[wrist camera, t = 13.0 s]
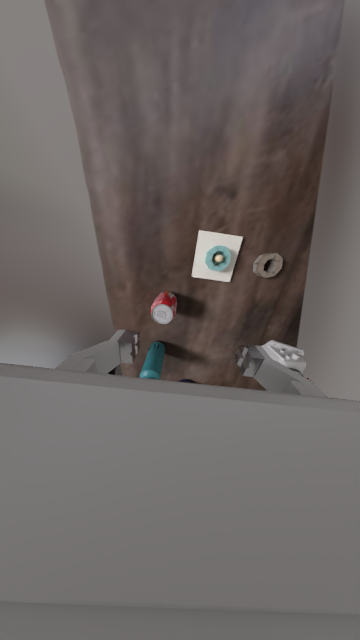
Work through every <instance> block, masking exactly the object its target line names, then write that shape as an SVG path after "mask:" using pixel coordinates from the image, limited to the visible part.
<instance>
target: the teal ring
mask: <svg viewBox="0 0 360 640" xmlns="http://www.w3.org/2000/svg"><path fill="white" fill-rule="evenodd" d="M216 252H220V253H221V255H222V256H223V260H222V261H221V263H220V264H218V265H217V266H215V265H214V264H213V263H212V257H213V254H214V253H216ZM230 255H231V254H230V252H229V250H228V248H227V247H226V246H219V245H217V246H214V247H213V248H211V249H210V250H209V251H208V252H207V253H206V258H205V261H206V262H205V263H206V265H207V266H208V268H209V269H210V270H214V271H222V270H223V269H224V268H226V267H227V266H228V265H229V262H230V258H231V256H230Z"/></svg>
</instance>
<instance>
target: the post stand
mask: <svg viewBox="0 0 360 640" xmlns="http://www.w3.org/2000/svg"><path fill="white" fill-rule="evenodd" d="M242 239H243V237H240V236H234V235H227V234H220V233H214V232H207V231H201V230H199V233H198V240H197V246H196V252H195V258H194V264H193V270H192V277H196V278H204V279H211V280H218V281H225V282H230V279H231V276H232V273H233V269H234V266H235V263H236V259H237V256H238V252H239V249H240V246H241V242H242ZM217 245H219V246H226V247H227V248H228V250H229V252H230V254H231V255H230V256H231V258H230V262H229V265H228V266H227V267H226V268H224V269H223V270H222V271H214V270H210V269H209V268H208V266H207V265H206V263H205V262H206V261H205V258H206V253H207V252H208V251H209V250H210V249H211V248H213V247H214V246H217ZM222 260H223V256H222V255H221V253H220V252H216V253H214V254H213V257H212V263H213V264H214V265H215V266H217V265H218V264H220V263H221V261H222Z"/></svg>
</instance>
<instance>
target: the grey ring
mask: <svg viewBox="0 0 360 640" xmlns="http://www.w3.org/2000/svg"><path fill="white" fill-rule="evenodd" d="M268 260H269V261H270V266H269V268H268V269H267V270H266V271H264V264H265V263H266V262H267V261H268ZM282 262H283V259H282V257H281V256H279V255H278V254H277V253H268V254H263V255H260V256H259V257H258V258H257V259H256V260H255V262H254V264H253V271H254V273H255V274H256V275H258V276H260V277H264V278H268V277H272V276H275V275H276V274H277V273H278V272H279V271H280V270H281V268H282Z"/></svg>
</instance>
